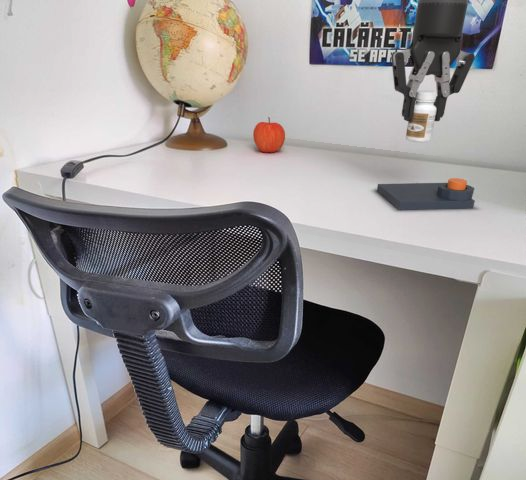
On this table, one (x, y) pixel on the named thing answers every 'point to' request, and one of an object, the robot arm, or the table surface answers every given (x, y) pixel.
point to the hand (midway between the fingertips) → (421, 120)
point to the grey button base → (426, 196)
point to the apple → (269, 136)
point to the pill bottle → (422, 117)
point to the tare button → (456, 184)
